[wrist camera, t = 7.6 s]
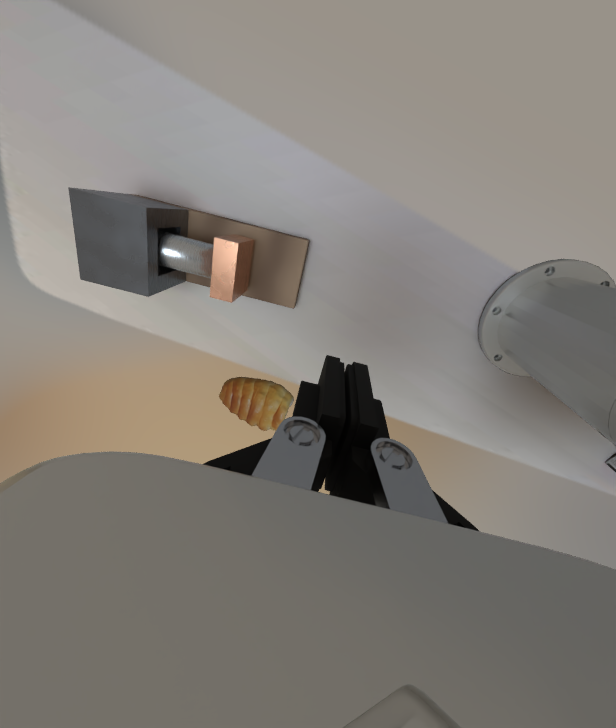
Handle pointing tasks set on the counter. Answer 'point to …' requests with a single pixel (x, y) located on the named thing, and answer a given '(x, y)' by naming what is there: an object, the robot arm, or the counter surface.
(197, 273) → the shaft
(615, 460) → the candy bar box
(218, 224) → the shaft frame
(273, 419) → the pastry
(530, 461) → the counter surface
